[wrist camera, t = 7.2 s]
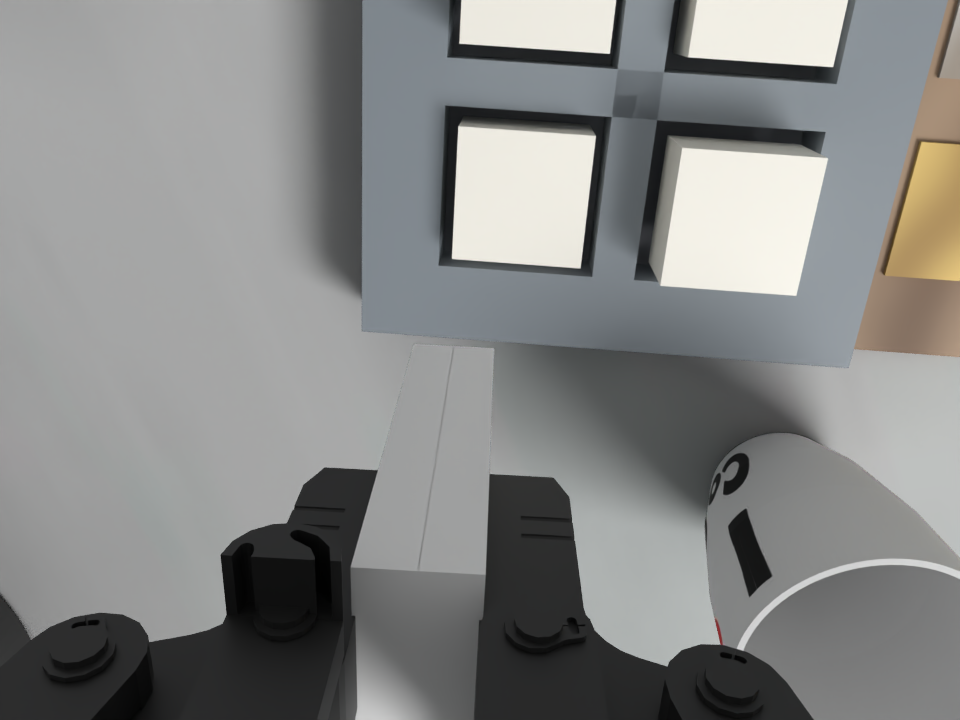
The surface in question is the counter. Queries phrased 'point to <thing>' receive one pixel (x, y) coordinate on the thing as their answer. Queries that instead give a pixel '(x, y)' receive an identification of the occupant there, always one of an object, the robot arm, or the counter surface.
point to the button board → (630, 178)
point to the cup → (833, 583)
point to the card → (924, 223)
